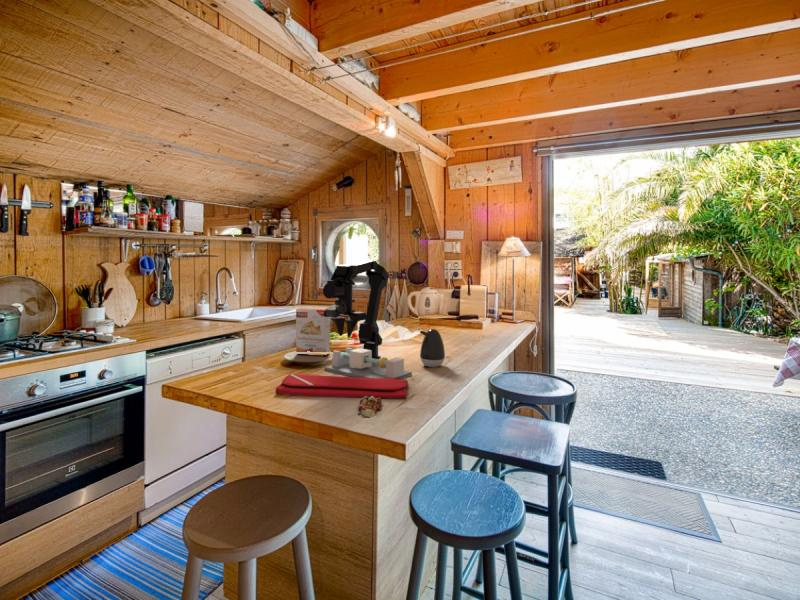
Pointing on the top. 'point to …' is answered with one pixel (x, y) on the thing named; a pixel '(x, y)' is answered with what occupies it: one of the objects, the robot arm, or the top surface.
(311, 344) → the cracker box
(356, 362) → the sleeve
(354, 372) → the board
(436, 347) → the pump dispenser
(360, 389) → the dish drying mat
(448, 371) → the top surface
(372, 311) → the robot arm
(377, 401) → the pastry
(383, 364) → the pale teal rod
